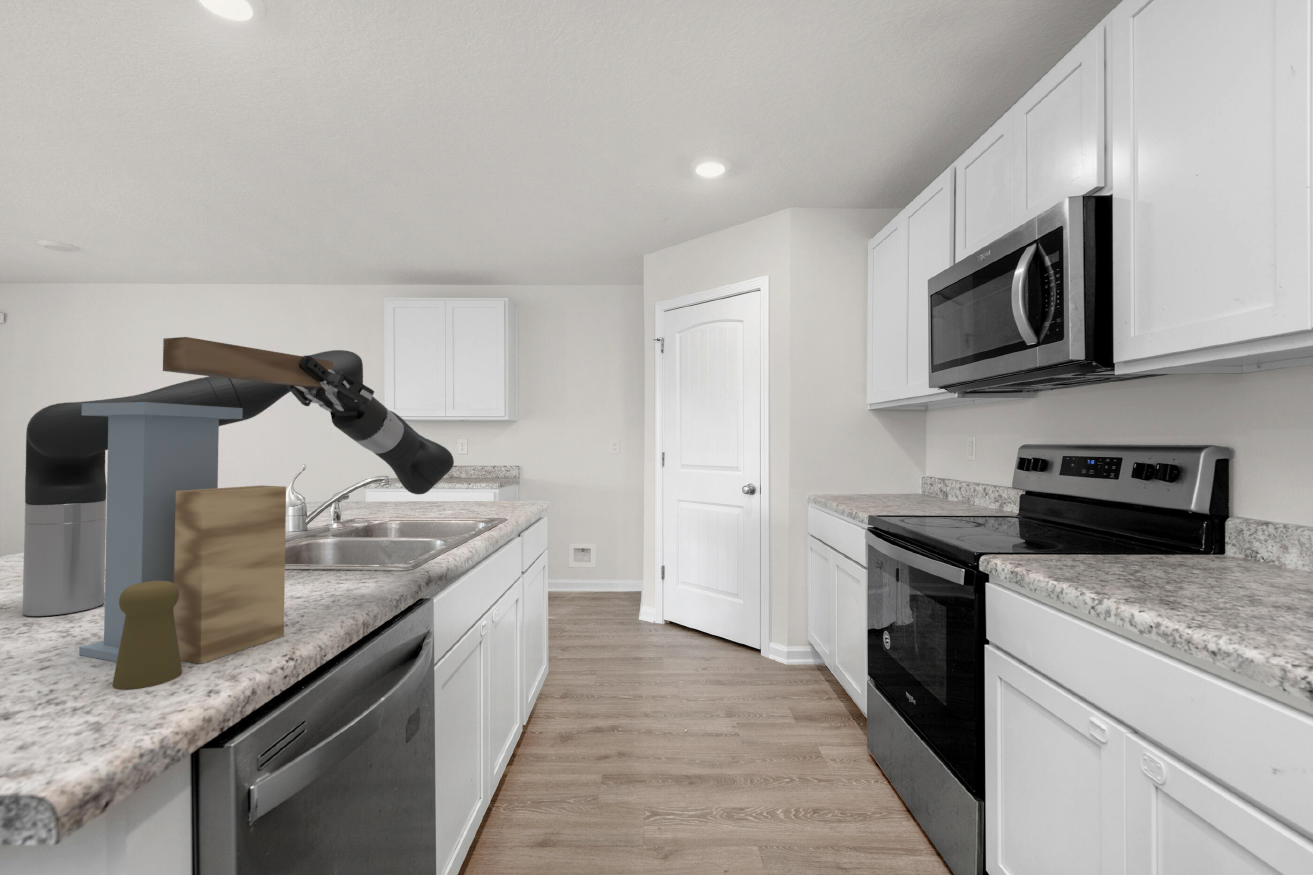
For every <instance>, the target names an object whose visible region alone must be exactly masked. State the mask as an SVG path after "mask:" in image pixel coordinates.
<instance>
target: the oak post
mask: <svg viewBox="0 0 1313 875" xmlns="http://www.w3.org/2000/svg"><path fill="white" fill-rule="evenodd" d="M286 510H287V486H285V485H283V486H282V485H280V486H279V485H247V486H246V485H245V486H234V487H232V486H231V487H218V488H215V489H200V490H184V491H176V506H175V561H174V583H175V584H176V586H177V587H178V589H179V598H178V601H177V603H176V605H175V606H174V621H175V627H176V634H177V640H178V647H179V653H180V660H181V662H182V661H183V662H188V663H194V664H199V665H203V664H204V663H205V664H206V663H209V662H210V661H213V660H216V659H220V658H222V657H225V656H229V655H233V654H234V653H237V652H240V651H244V650H247V649H249V648H252V647H256V646H258V645H262V644H264V643H267V642H270V641H273V640H277V639H279V638H282V637H284V636H285V635H284V634H285V588H286V587H285V586H286V585H285V584H286V583H285V582H286V581H285V578H286V574H285V573H286V572H285V571H286V570H285V569H286V524H287V523H286V518H287V517H286V516H287V511H286Z"/></svg>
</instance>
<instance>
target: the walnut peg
mask: <svg viewBox="0 0 1313 875" xmlns="http://www.w3.org/2000/svg"><path fill="white" fill-rule="evenodd" d="M162 340H163V341H162V342H163V343H162V345H163V346H162V347H163V348H162V371H163V372H166V373H167V372H168V373H169V372H170V373H175V374H177V373H178V374H186V375H194V376H195V375H196V376H204V377H209V376H211V377H220V378H229V379H238V380H247V381H256V382H265V383H274V384H283V385H292V386H301V387H310V388H311V387H312V388H323V387H322V386H321V384H320V381H316V380H314V379H313V378H312V377H311V376H309V375H308V374H307V373H306V372H304V371H303V370H302V369H301V368H300V367H299V363H300V361H301V360H302V358H303V356H304V355H298V354H297V355H295V354H290V353H284V352H279V351H278V352H277V351H273V350H267V349H260V348H254V347H250V346H248V347H247V346H244V345H236V344H229V343H225V342H219V341H213V340H206V339H200V338H197V337H194V338H193V337H190V336H189V337H188V336H181V337H180V336H179V337H168V338H167V337H166V338H165V337H164V338H163V339H162ZM313 359H314V360H316V361H317V362H318V363H319V364H320V365H322V366H323V367H324V368H325V369H326V370H327V369H330V370H332V371H333V361H327V360H321V359H315V358H313Z"/></svg>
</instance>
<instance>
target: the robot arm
mask: <svg viewBox="0 0 1313 875" xmlns="http://www.w3.org/2000/svg"><path fill="white" fill-rule="evenodd" d="M302 356H303V358H302V360H301V361H300V363H299V367H300V368H301V369H302V370H303V371H304V372H306V373H307V374H308V375H309V376H311V377H312V378H313V379H314V380H316V381H320V384H321V386H322V387H323V388H312V387H311V388H310V387H301V386H292V385H283V384H274V383H265V382H256V381H247V380H238V379H229V378H220V377H211V376H204V377H198V378H194V379H190V380H187V381H182V382H179V383H175V384H171V385H167V386H163V387H161V388H160V387H159V388H158V389H153V390H151V391H147V392H144V393H139V394H135V395H130V396H122V397H116V398H114V397H113V398H105V399H98V400H88V401H87V400H86V401H76V402H75V401H73V402H72V401H71V402H67V401H66V402H59V403H54V404H51V405H50V404H49V405H47V406H45V407H43V408H41V409H39V411H36V413H34V414H33V416H32V417H30V420H29V421H28V423H27V426H26V434H25V436H26V437H25V476H24V478H25V480H24V503H25V504H24V538H23V539H24V542H23V543H24V544H23V545H24V548H23V551H24V552H23V574H22V576H23V577H22V578H23V580H22V615H24V616H28V617H29V616H30V617H43V616H44V617H45V616H56V615H64V614H71V613H77V612H81V611H85V610H91V609H94V608H97V607H99V606H100V607H101V606H102V605H103V604H105V565H106V515H107V478H106V477H107V476H106V451H108V416H87V415H82V404H85V403H127V402H151V403H167V404H183V405H199V406H215V407H231V408H243V414H242V419H219V427H221V426H227V425H230V424H235V423H239V422H244V421H248V420H250V419H252V418H254V417H257V416H258V415H259V414H261V413H263V412H264V411H265V410H267V409H269V408H270V407H272V405H274V404H275V403H277V401H279V400H281V399H282V398H283V397H285V396H286V395H287V394H289V393H291V394H292V395H293V396H294V397H295V398H296V399H297V401H299V402H300V404H301V405H302V406H305V407H310V405H311V404H312V403H313V404H318V406H319V408H322V409H323V410H325V411H327V412H329V413H330V419H331V422H332V424H333V426H334V427H336V429H338V430H340V431H341V432H342V433H343V434H345V435H346V436H347V437H349V438H350V439H352V440H353V441H354V442H355V443H357V444H359V445H360V446H361V447H363V448H365V449H367V450H368V451H370V452H371V453H373V454H374V455H376V456H377V457H379V458H380V459H381V460H382V461H383V462H385V463H386V464H387V466H389V467H390V468H391V469H392V471H393V472H394V474H395V475H396V477H397V479H398V480H399V482H400V484H401V485H402V486H403V488H404V489H405V490H407V491H408V492H409V493H411V494H413V495H424V494H427V493H428V492H429V491H430V490H432V489H433V488H434V487H435V486H436V485H437V484H438V483H439V482H440V481H441V480H443V478H444V477H445V476H446V475H447V474H448V473H450V471H451V470H452V469H453V467H454V461H455V460H454V457H453V455H452V452H450V451H449V449H447V447H445V446H443V445H441V444H439V443H438V442H436V441H433V440H430V439H428V438H427V437H424V436H422V435H421V434H419V433H418V432H417V431H416V430H415V429H414V428H413V427H411V426H410V424H408V423H407V422H406V421H405V420H404V419H403V418H402V417H401V416H400V415H399V414H397V413H396V412H395V411H392V410H389V409H388V408H387V407H386V406H385V405H384V404H382V403H381V402H380V401H379V400H378V399H377V398H375V396H374V394H375V391H374V390H373V389H372V388H370V387H369V386H367V385H365V384H364V365H363V360H362V358H361V356H360V355H359V354H357V353H356V352H353V351H349V350H343V349H335V350H334V349H333V350H327V351H326V350H325V351H320V352H318V353H314V354H313V353H312V354H309V355H307V354H306V355H302ZM313 358H315V359H321V360H327V361H333V371H332V370H330V369H327V370H326V369H325V368H324V367H323V366H322V365H320V364H319V363H318V362H317V361H316V360H314V359H313Z"/></svg>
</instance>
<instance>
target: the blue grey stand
mask: <svg viewBox="0 0 1313 875" xmlns="http://www.w3.org/2000/svg"><path fill="white" fill-rule="evenodd" d="M242 414H243V408H231V407H215V406H199V405H183V404H167V403H151V402H127V403H85V404H82V415H87V416H108V450H107V472H106V473H107V474H106V475H107V476H106V477H107V478H106V535H105V582H104V618H103V619H104V620H103V621H104V622H103V623H104V624H103V626H104V627H103V628H104V629H103V640H101V641H97V642H94V643H90V644H87V645H82V646H79V648H78V650H79V651H78V655H79V656H84V657H89V658H94V659H98V658H99V660H103V659H104V661H108V660H109V662H114V663H117V658H118V653H119V648H120V642H121V637H122V632H123V626H124V621H125V616H126V614H125V613H124V612H123V611H122V610H121V609H120V606H119V598H120V595H121V593H122V592H123V591H124V590H125V589H126V588H127V587H129V586H131V585H135V584H138V583H142V582H148V581H170V582H173V583H174V561H175V506H176V491H184V490H200V489H215V488H219V487H218V486H219V485H218V484H219V479H218V478H219V439H220V438H219V435H220V434H219V430H220V429H219V428H220V426H219V419H242ZM173 614H174V607H173Z"/></svg>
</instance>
